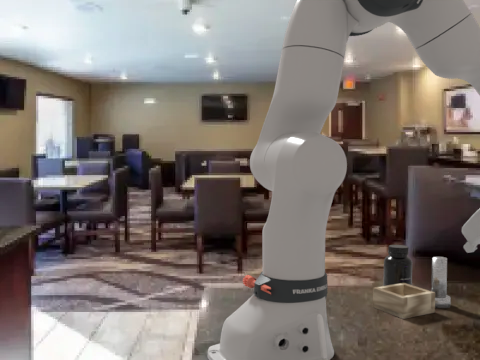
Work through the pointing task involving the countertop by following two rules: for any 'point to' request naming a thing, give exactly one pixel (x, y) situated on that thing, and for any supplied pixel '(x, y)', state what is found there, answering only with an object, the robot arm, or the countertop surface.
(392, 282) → the supplement bottle
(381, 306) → the open wooden box
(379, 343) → the countertop surface
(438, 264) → the metal coffee tamper
